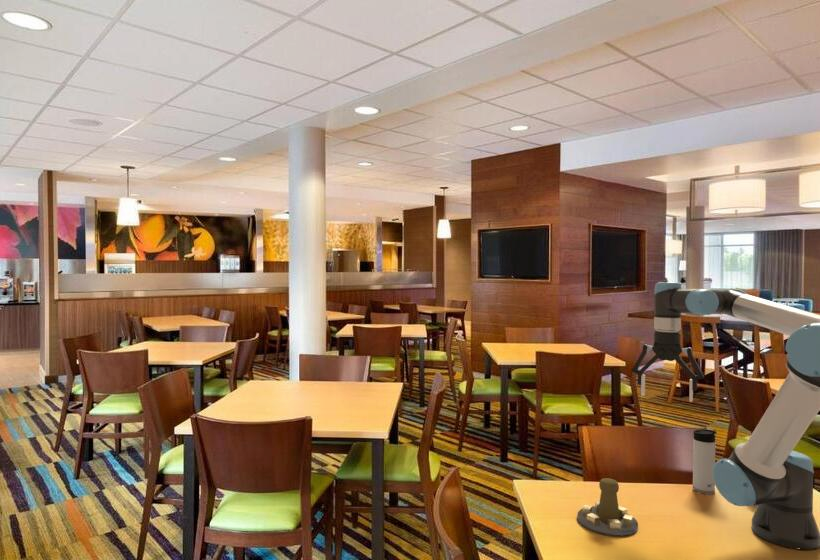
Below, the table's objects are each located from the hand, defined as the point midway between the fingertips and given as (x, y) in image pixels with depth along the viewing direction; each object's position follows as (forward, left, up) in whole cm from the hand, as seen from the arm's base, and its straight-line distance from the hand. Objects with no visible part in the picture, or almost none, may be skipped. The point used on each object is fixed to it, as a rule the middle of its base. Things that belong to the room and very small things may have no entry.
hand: (666, 398), depth 161 cm
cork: (+12, +26, -31) cm, 42 cm away
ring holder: (+12, +27, -32) cm, 43 cm away
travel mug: (-10, -14, -32) cm, 36 cm away
